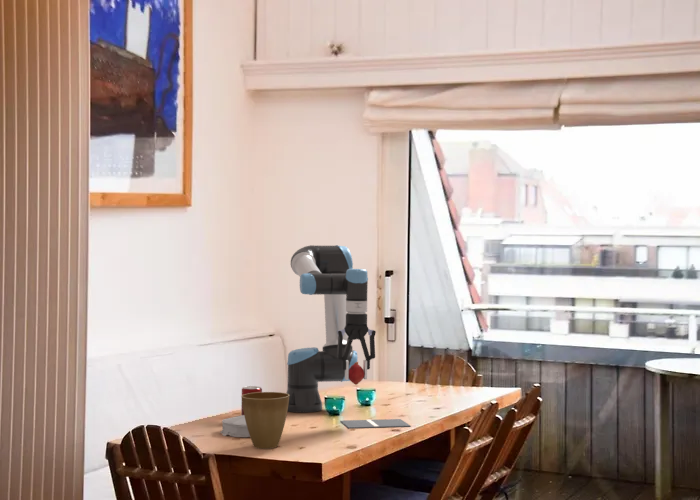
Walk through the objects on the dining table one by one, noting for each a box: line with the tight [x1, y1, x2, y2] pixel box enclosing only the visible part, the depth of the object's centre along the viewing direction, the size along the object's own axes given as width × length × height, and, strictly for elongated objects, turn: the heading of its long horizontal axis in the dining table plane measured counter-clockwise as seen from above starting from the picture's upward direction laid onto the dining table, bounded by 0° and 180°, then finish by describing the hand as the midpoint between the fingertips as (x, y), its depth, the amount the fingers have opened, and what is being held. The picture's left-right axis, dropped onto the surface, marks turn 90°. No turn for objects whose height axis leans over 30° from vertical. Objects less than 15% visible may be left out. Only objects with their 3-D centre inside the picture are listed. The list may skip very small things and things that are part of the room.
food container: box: [219, 415, 251, 438], centre depth 334 cm, size 20×20×7 cm
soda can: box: [240, 385, 263, 416], centre depth 356 cm, size 7×7×12 cm
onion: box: [348, 361, 364, 386], centre depth 351 cm, size 6×6×8 cm
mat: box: [340, 418, 412, 430], centre depth 352 cm, size 22×14×1 cm, turn 102°
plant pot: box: [240, 391, 289, 450], centre depth 310 cm, size 15×15×16 cm
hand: (355, 378), depth 351 cm, fingers closed on onion, 6 cm apart
